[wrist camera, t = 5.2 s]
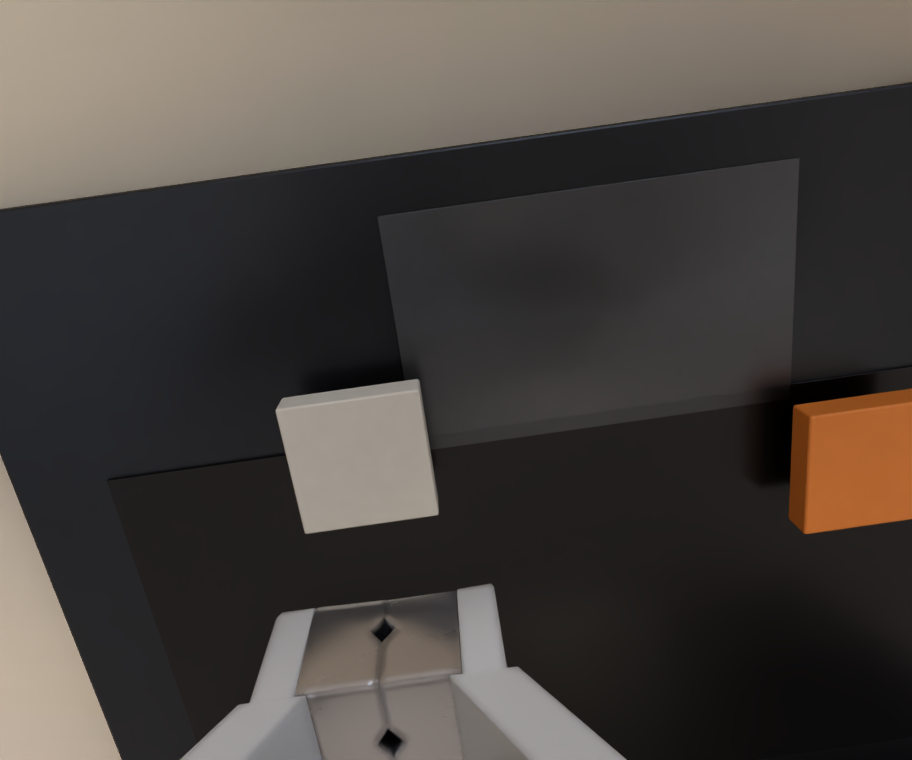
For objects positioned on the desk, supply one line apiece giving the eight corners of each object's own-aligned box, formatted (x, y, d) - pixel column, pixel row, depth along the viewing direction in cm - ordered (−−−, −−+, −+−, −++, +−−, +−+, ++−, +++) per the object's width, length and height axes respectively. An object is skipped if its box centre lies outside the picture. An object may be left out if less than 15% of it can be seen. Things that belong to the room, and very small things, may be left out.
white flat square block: (281, 397, 15) (274, 410, 14) (419, 378, 15) (419, 389, 14) (309, 517, 16) (304, 535, 15) (438, 499, 16) (439, 516, 16)
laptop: (-35, 214, 16) (-98, 222, 14) (1159, 48, 16) (1260, 33, 14) (189, 821, 23) (167, 883, 21) (1028, 700, 23) (1085, 751, 21)
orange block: (791, 404, 16) (810, 416, 15) (922, 385, 16) (947, 397, 15) (787, 518, 17) (804, 535, 16) (909, 501, 17) (932, 517, 16)
